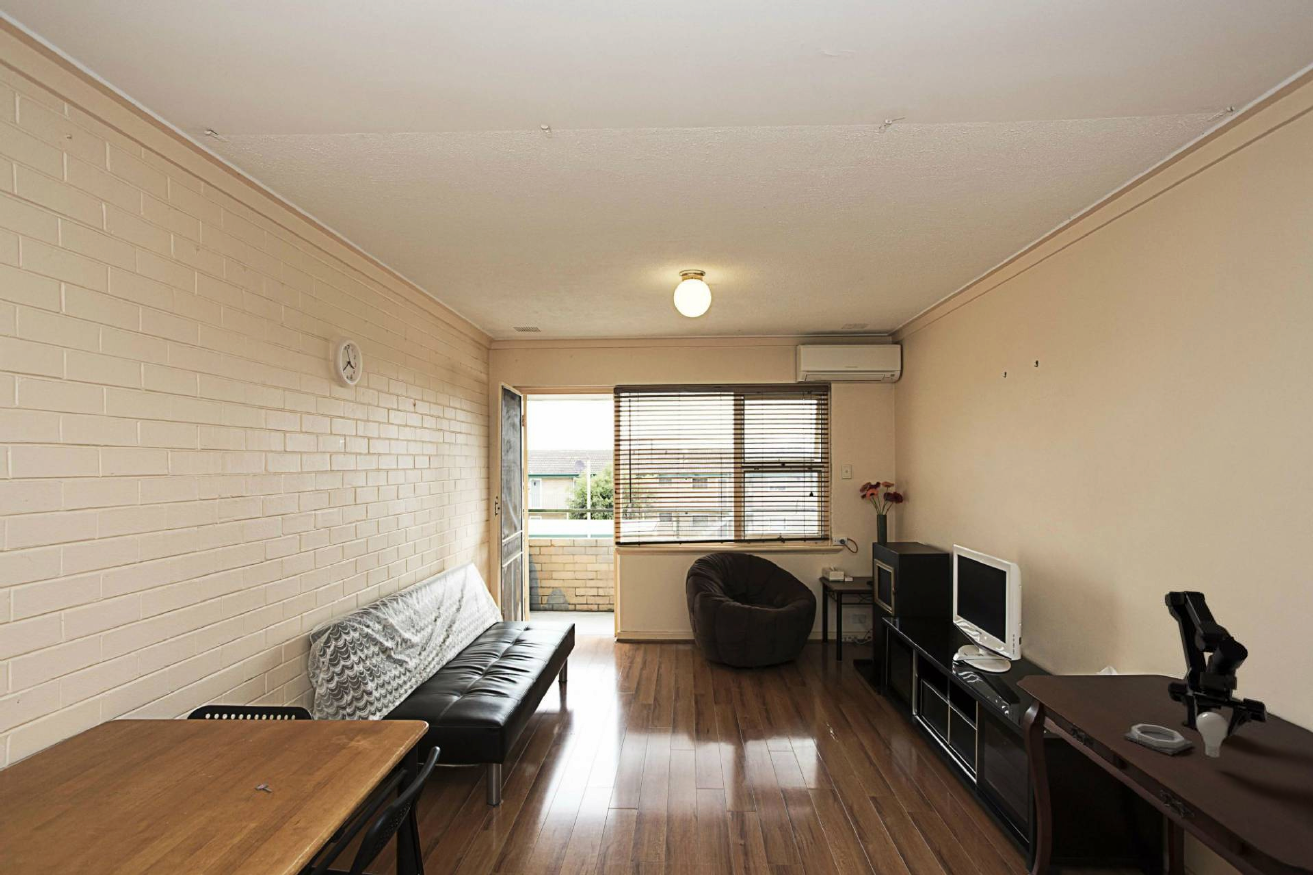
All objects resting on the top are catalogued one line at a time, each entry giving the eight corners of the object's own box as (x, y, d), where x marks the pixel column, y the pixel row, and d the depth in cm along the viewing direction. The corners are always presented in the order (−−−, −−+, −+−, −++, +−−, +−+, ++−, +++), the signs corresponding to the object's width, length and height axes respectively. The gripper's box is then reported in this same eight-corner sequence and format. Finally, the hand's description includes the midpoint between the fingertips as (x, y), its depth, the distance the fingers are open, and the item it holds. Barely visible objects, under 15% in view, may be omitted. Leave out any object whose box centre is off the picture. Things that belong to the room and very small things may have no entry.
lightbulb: (1235, 764, 160) (1235, 719, 160) (1205, 762, 161) (1205, 717, 161) (1218, 751, 166) (1218, 708, 166) (1190, 749, 168) (1189, 706, 167)
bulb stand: (1146, 729, 184) (1145, 721, 184) (1192, 746, 175) (1192, 736, 175) (1123, 738, 179) (1123, 729, 179) (1170, 755, 170) (1170, 745, 170)
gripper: (1169, 650, 173) (1158, 704, 166) (1264, 669, 159) (1257, 728, 152) (1177, 673, 178) (1166, 725, 171) (1270, 693, 164) (1263, 751, 157)
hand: (1210, 732), depth 163 cm, fingers closed on lightbulb, 6 cm apart
